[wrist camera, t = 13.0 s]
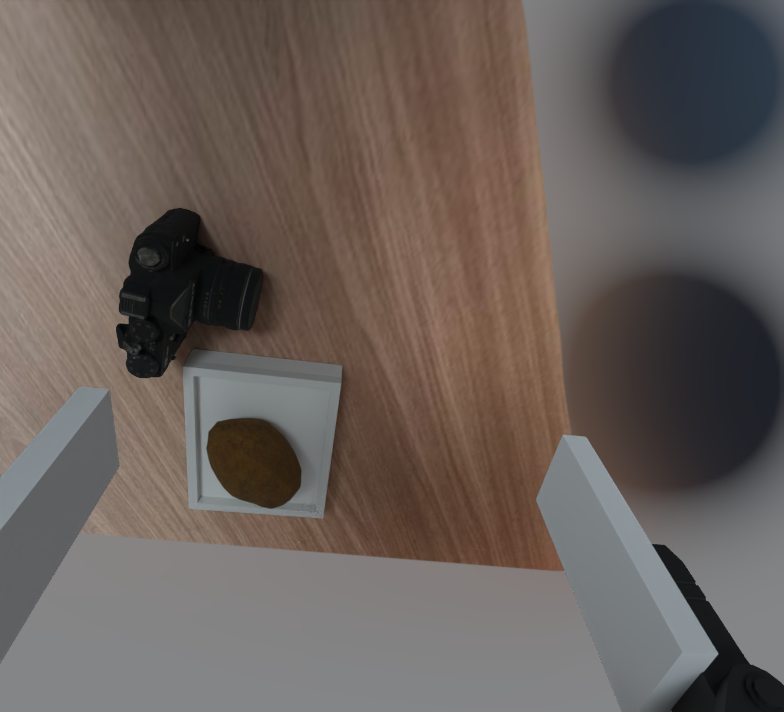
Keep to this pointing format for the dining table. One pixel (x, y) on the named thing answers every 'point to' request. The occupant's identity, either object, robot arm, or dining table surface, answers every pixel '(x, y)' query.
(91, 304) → the dining table surface
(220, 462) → the potato
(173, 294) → the camera
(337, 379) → the tray
